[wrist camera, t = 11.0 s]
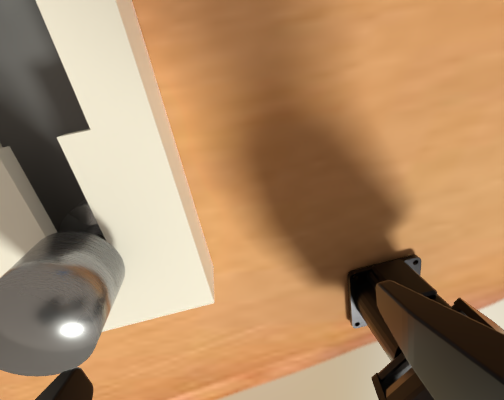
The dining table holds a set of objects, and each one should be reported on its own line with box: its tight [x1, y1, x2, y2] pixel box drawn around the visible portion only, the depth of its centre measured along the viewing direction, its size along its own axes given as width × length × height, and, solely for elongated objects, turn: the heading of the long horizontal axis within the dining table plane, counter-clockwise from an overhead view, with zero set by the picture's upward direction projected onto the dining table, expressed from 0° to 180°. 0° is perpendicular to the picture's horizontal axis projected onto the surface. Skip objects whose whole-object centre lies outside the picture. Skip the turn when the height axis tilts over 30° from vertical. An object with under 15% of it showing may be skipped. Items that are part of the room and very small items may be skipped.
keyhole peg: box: [0, 199, 125, 376], centre depth 15 cm, size 5×5×9 cm
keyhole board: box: [0, 0, 214, 332], centre depth 16 cm, size 20×12×4 cm, turn 11°
